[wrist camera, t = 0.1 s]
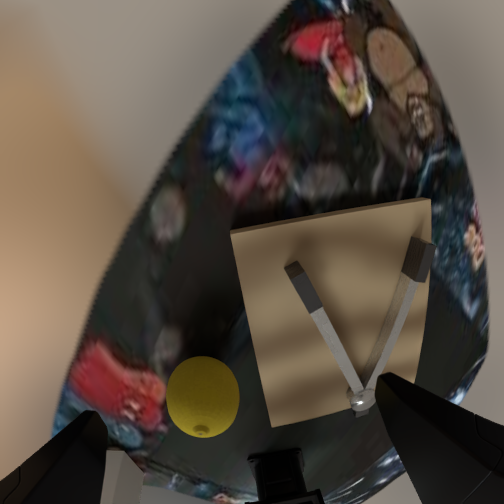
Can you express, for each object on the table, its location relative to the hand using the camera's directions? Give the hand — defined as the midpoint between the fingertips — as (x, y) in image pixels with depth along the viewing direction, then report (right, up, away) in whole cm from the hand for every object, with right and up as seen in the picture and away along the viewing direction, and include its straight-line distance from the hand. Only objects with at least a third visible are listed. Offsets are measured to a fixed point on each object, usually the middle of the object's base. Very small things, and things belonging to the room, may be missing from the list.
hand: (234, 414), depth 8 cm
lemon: (-4, -5, +17) cm, 18 cm away
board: (+9, -2, +16) cm, 19 cm away
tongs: (+10, -3, +16) cm, 19 cm away
